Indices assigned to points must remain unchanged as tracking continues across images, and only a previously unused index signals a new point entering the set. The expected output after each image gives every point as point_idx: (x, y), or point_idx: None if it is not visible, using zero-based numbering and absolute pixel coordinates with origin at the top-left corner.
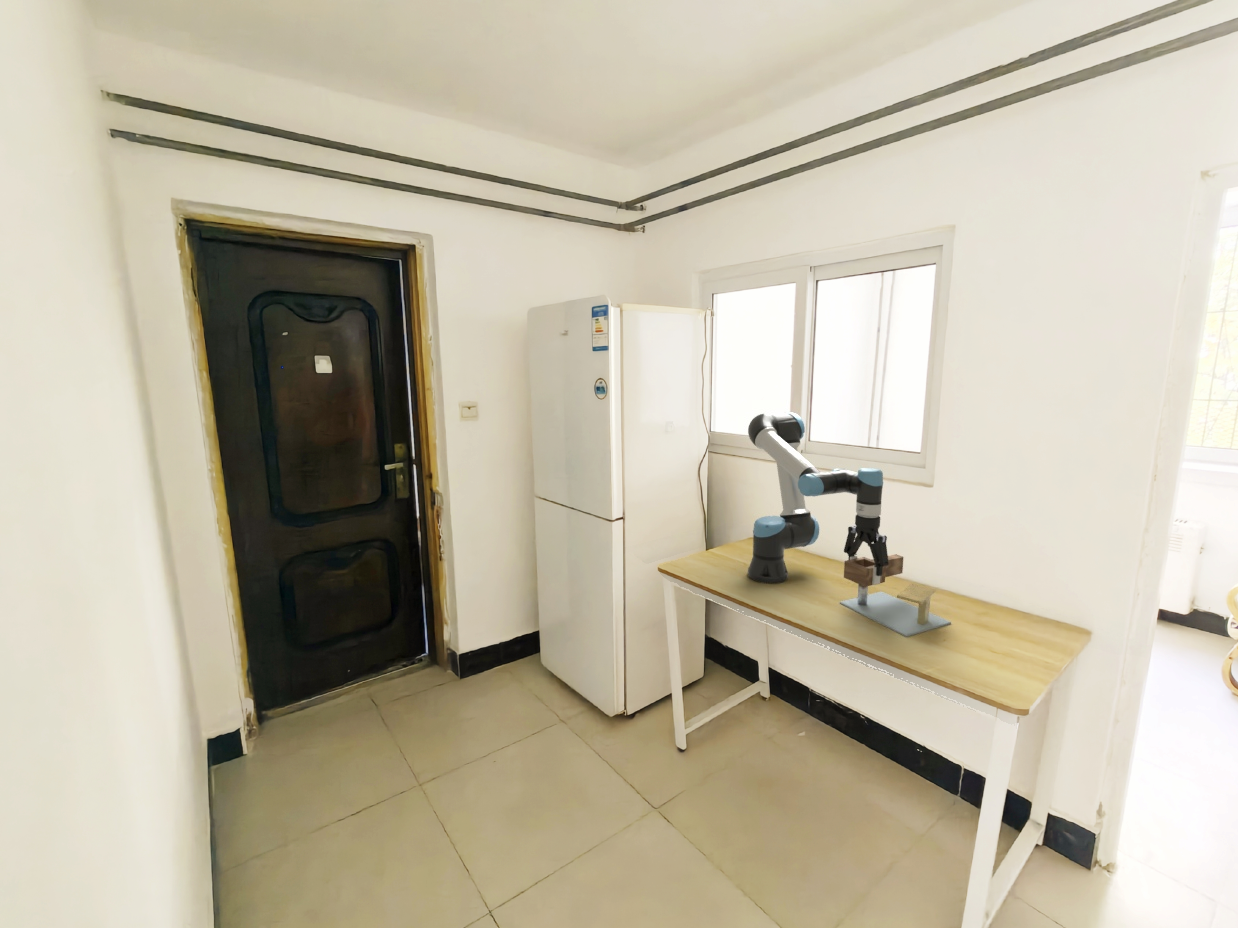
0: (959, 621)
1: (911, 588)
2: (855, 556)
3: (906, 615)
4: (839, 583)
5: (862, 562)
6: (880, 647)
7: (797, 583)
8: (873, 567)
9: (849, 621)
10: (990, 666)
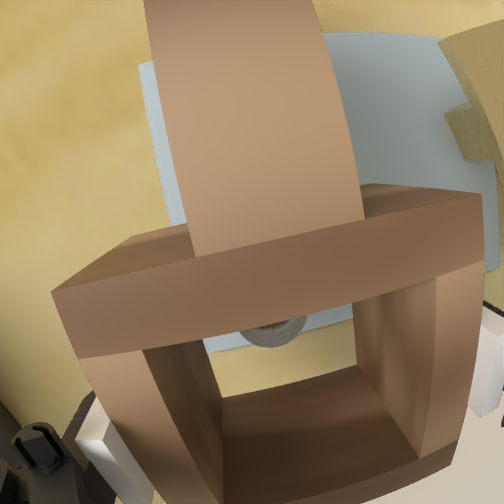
0: (444, 4)
1: (502, 114)
2: (111, 461)
3: (411, 145)
4: (3, 213)
5: (163, 351)
6: None
7: (11, 380)
8: (474, 405)
9: None
10: None
